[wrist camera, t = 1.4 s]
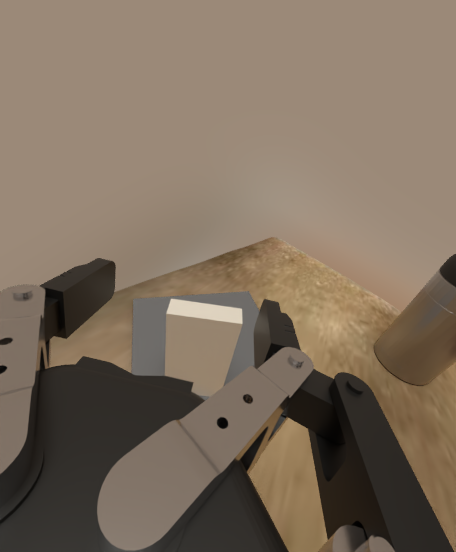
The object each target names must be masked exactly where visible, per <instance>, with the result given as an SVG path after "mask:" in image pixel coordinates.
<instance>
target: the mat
mask: <svg viewBox="0 0 456 552" xmlns="http://www.w3.org/2000/svg"><path fill="white" fill-rule="evenodd" d="M171 299H177V300H184V301H191V302H198V303H205V304H212V305H219V306H226V307H233V308H240V309H242V322H243V324H242V327H241V331H240V334H239V337H238V340H237V344H236V347H235V350H234V353H233V356H232V360H231V363H230V366H229V369H228V373H227V376H226V379H225V382H224V385H223V387H224V386H225V385H226V384H227V383H229V382H230V381H231V380H233V379H234V378H235V377H236V376H238V375H239V374H240V373H242V372H243V371H244V370H245V369H247V368H248V367H249V366H252V365H253V366H254V327H255V323H256V320H257V317H258V315H259V310H258V308H257V306H256V304H255V302H254V300H253V299H252V297H251V295H250V293H249V291H247V292H232V293H216V294H201V295H186V296H171V297H155V298H140V299H133V338H132V374H134V375H142V376H165V346H166V313H167V310H168V307H169V304H170V301H171ZM199 396H200V395H199ZM200 397H202V398H203V399H204V400H205V401H206V400H207V399H208V398H209V396H200Z"/></svg>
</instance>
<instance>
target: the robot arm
mask: <svg viewBox="0 0 456 552" xmlns="http://www.w3.org/2000/svg"><path fill="white" fill-rule="evenodd" d="M115 268H116V267H115V263H114V262H113V261H109V260H105V259H101V258H97V259H95V260H94V261H92V262H90V263H88V264H85V265H81V266H77V267H74V268H72V269H70V270H68V271H67V272H64V273H63V274H61V275H60V276H57V277H55V278H53V279H51V280H49V281H47V282H46V283H44V284H42V285H40V286H36V285H17V286H13V287H9V288H7V289H4V290H2V291H1V292H0V552H288V550H287V548H286V546H285V544H284V542H283V540H282V538H281V536H280V534H279V533H278V531H277V529H276V527H275V525H274V523H273V521H272V519H271V517H270V515H269V513H268V512H267V510H266V508H265V506H264V504H263V502H262V500H261V498H260V496H259V494H258V492H257V491H256V489H255V487H254V485H253V483H252V481H251V479H250V477H249V475H248V474H249V473H250V471H251V470H252V469H253V467H254V466H255V464H256V463H257V461H258V459H259V458H260V456H261V454H262V453H263V451H264V450H265V448H266V447H267V446H268V444H269V443H270V442H271V440H272V439H273V438H274V436H275V435H276V433H277V432H278V431H279V429H280V428H281V427H282V425H283V424H284V423H285V421H286V420H287V419H288V418H290V419H292V420H294V421H295V422H297V423H299V424H301V425H302V426H304V427H306V428H308V430H309V436H310V442H311V447H312V453H313V459H314V464H315V470H316V476H317V481H318V487H319V493H320V498H321V504H322V510H323V515H324V521H325V527H326V532H327V538H328V541H327V542H326V543H325V544H324V545H323V546H322V547H321V548H320V550H319V551H318V552H454V551H453V549H452V547H451V545H450V543H449V541H448V539H447V537H446V535H445V533H444V531H443V529H442V527H441V525H440V523H439V521H438V519H437V517H436V515H435V513H434V511H433V510H432V508H431V506H430V504H429V502H428V500H427V498H426V496H425V494H424V492H423V490H422V488H421V486H420V484H419V482H418V480H417V478H416V476H415V474H414V472H413V470H412V468H411V466H410V464H409V462H408V460H407V458H406V456H405V455H404V453H403V451H402V449H401V447H400V445H399V443H398V441H397V439H396V437H395V435H394V433H393V431H392V429H391V427H390V425H389V423H388V421H387V419H386V417H385V415H384V413H383V411H382V409H381V407H380V405H379V403H378V402H377V400H376V398H375V396H374V394H373V392H372V390H371V389H370V388H369V386H368V385H367V384H366V383H364V382H363V381H362V380H361V379H359V378H358V377H356V376H354V375H352V374H349V373H344V372H341V373H338V374H337V375H336V376H335V378H334V379H333V378H330V377H328V376H326V375H324V374H322V373H320V372H318V371H316V370H315V369H313V368H314V366H313V362H312V361H311V359H310V358H309V357H308V356H307V355H306V354H305V353H304V352H302V351H301V350H300V346H299V343H298V340H297V336H296V334H295V329H294V326H293V323H292V320H291V319H290V318H289V316H288V315H287V314H285V313H281V311H280V306H279V303H278V302H275V301H271V300H267V299H264V301H263V303H262V306H261V309H260V312H259V315H258V317H257V320H256V323H255V327H254V366H253V365H252V366H249V367H248V368H247V369H245V370H244V371H243V372H242V373H240V374H239V375H238V376H236V377H235V378H234V379H233V380H231V381H230V382H229V383H227V384H226V385H225V386H224V387H222V388H221V389H220V390H218V391H217V392H216V393H215V394H213V395H212V396H211V397H209V398H208V399H207V400H206V401H205V400H204V399H203V398H202V397H200V396H199V395H197V394H195V393H194V392H192V387H193V383H194V382H190V381H186V380H181V379H177V378H173V377H169V376H142V375H134V374H132V373H130V372H128V371H126V370H124V369H122V368H120V367H118V366H116V365H114V364H112V363H110V362H106V361H102V360H97V359H93V358H89V357H85V356H83V357H82V358H81V359H80V360H79V361H78V362H77V364H76V365H73V364H72V365H61V366H55V367H51V368H50V353H51V342H50V339H51V338H52V337H53V336H57V337H61V338H65V339H67V338H68V337H69V336H70V335H71V334H72V333H73V332H74V331H75V330H77V329H78V328H79V327H80V326H81V325H82V324H83V323H84V322H86V321H87V320H88V319H89V318H90V317H91V316H92V315H93V314H94V313H96V312H97V311H98V310H99V309H100V308H101V307H102V306H103V305H104V304H106V303H107V302H108V301H109V300H110V299H111V298H112V296H113V294H114V289H115ZM374 350H375V353H376V355H377V357H378V359H379V360H380V362H381V363H382V364H383V365H384V366H385V367H386V368H387V370H389V371H390V372H391V373H392V374H394V375H395V376H397V377H398V378H400V379H402V380H403V381H405V382H408V383H411V384H414V385H425V384H428V383H429V382H430V381H431V380H433V379H434V378H435V377H437V376H438V375H439V374H441V373H442V372H443V371H445V370H446V369H447V368H449V367H450V366H451V365H452V364H454V363H455V362H456V254H454V255H453V256H451V257H450V258H449V259H448V260H447V261H446V262H445V263H444V264H443V265H442V267H441V268H440V269H439V270H438V271H437V272H436V274H435V275H434V276H433V277H432V278H431V279H430V280H429V282H428V283H427V284H426V285H425V286H424V287H423V289H422V290H421V291H420V292H419V293H418V295H417V296H416V297H415V298H414V299H413V300H412V301H411V303H410V304H409V305H408V306H407V307H406V308H405V309H404V311H403V312H402V313H401V314H400V315H399V316H398V317H397V319H396V320H395V321H394V322H393V323H392V324H391V325H390V327H389V328H388V329H387V330H386V331H385V332H384V334H383V335H382V336H381V337H380V338H379V339H378V341H377V342H376V343H375V346H374Z"/></svg>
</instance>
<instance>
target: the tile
mask: <svg viewBox="0 0 456 552" xmlns="http://www.w3.org/2000/svg"><path fill="white" fill-rule="evenodd" d="M242 324H243V322H242V309H240V308H233V307H226V306H219V305H212V304H205V303H198V302H191V301H184V300H177V299H171V301H170V304H169V307H168V310H167V313H166V346H165V376H169V377H173V378H177V379H181V380H186V381H190V382H194V383H193V387H192V392H194V393H195V394H197V395H200V396H209V397H211V396H212V395H213V394H215V393H216V392H217V391H218V390H220V389H221V388H222V387H223V385H224V382H225V379H226V376H227V373H228V369H229V366H230V363H231V360H232V356H233V353H234V350H235V347H236V344H237V340H238V337H239V334H240V331H241V327H242Z"/></svg>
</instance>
